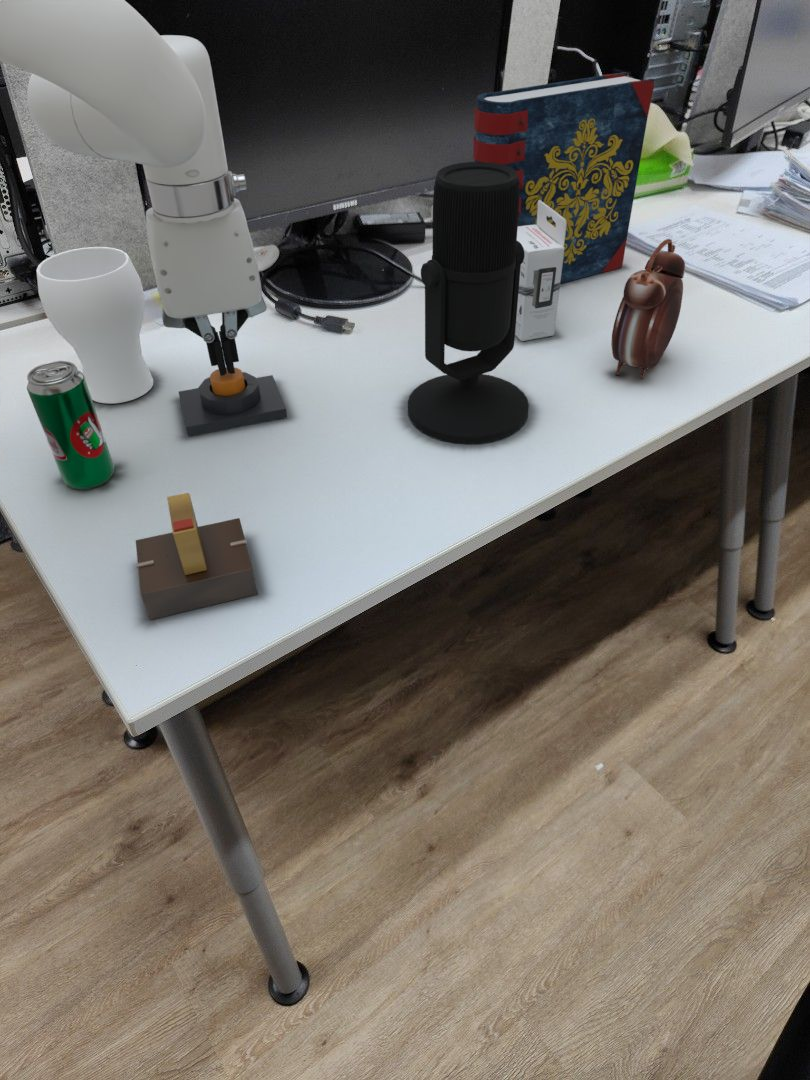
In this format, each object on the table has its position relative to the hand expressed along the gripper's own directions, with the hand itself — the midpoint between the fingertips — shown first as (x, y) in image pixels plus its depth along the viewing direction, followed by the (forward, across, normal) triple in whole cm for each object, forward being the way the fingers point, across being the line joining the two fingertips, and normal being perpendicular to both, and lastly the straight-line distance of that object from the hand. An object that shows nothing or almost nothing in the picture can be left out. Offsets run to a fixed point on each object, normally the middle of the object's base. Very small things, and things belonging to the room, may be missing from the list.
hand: (226, 368), depth 84 cm
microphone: (+5, -25, +10) cm, 27 cm away
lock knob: (+2, +7, +27) cm, 28 cm away
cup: (+5, +12, -9) cm, 16 cm away
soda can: (+5, +16, +8) cm, 19 cm away
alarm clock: (+5, -48, +8) cm, 49 cm away
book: (+6, -49, -20) cm, 53 cm away
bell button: (+2, 0, 0) cm, 2 cm away
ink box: (+5, -40, -7) cm, 41 cm away
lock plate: (+5, +7, +27) cm, 28 cm away
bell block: (+5, 0, 0) cm, 5 cm away
